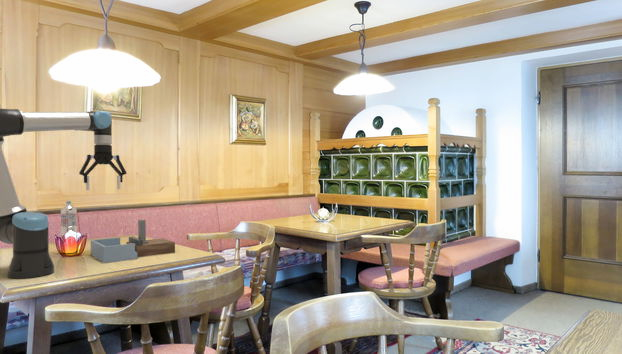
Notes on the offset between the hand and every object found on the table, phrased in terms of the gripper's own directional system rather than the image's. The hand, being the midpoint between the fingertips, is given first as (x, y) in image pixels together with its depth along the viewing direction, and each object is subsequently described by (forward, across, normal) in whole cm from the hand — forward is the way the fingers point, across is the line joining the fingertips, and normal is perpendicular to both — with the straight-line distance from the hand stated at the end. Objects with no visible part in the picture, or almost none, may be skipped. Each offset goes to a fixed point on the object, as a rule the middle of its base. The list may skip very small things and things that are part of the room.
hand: (103, 189), depth 210 cm
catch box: (+31, -2, +8) cm, 32 cm away
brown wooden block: (+31, -19, +8) cm, 37 cm away
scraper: (+26, -14, +8) cm, 30 cm away
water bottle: (+31, +12, -16) cm, 37 cm away
